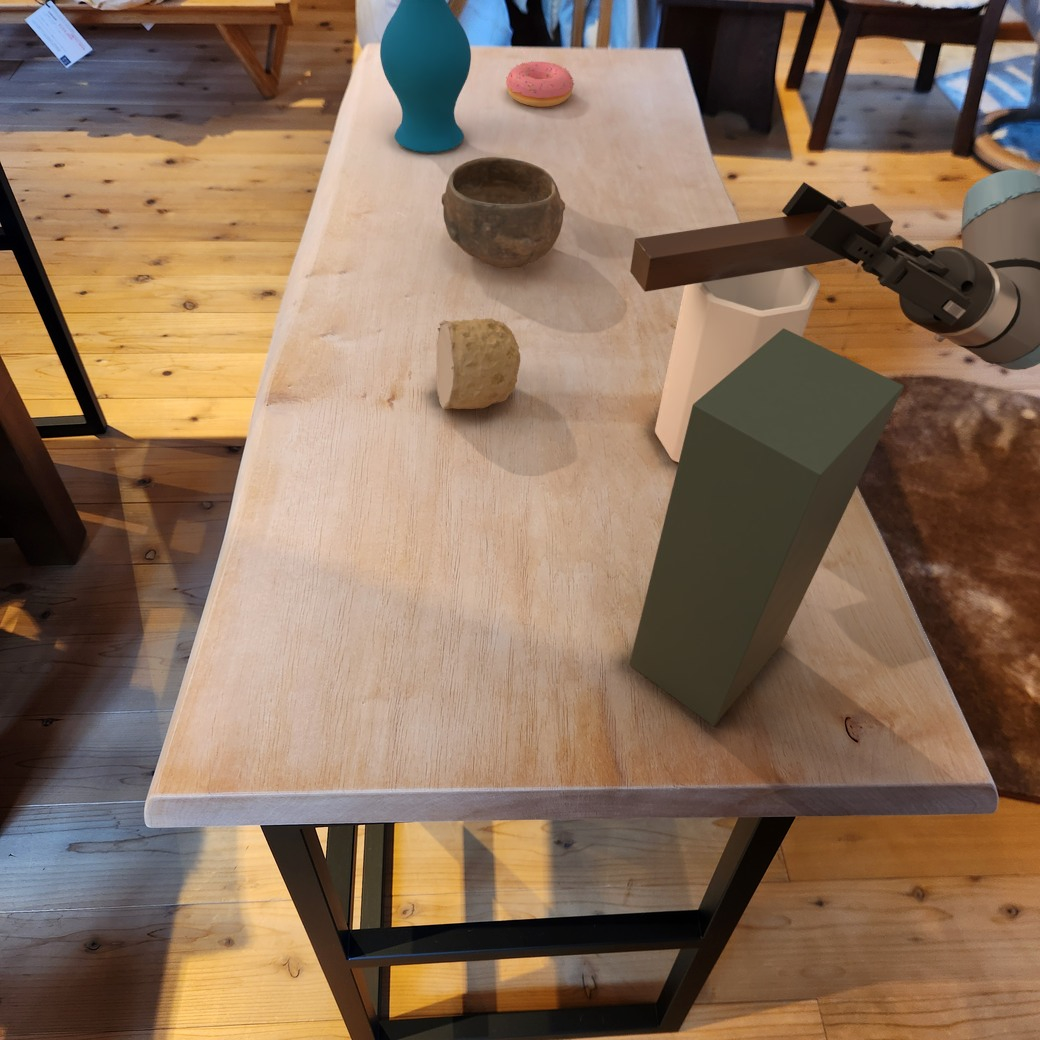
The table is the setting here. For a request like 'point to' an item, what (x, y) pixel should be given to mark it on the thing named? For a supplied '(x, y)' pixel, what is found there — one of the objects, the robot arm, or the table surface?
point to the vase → (426, 72)
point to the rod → (739, 249)
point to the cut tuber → (475, 363)
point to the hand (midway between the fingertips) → (807, 210)
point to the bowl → (502, 211)
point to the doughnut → (539, 84)
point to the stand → (754, 514)
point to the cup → (726, 336)
